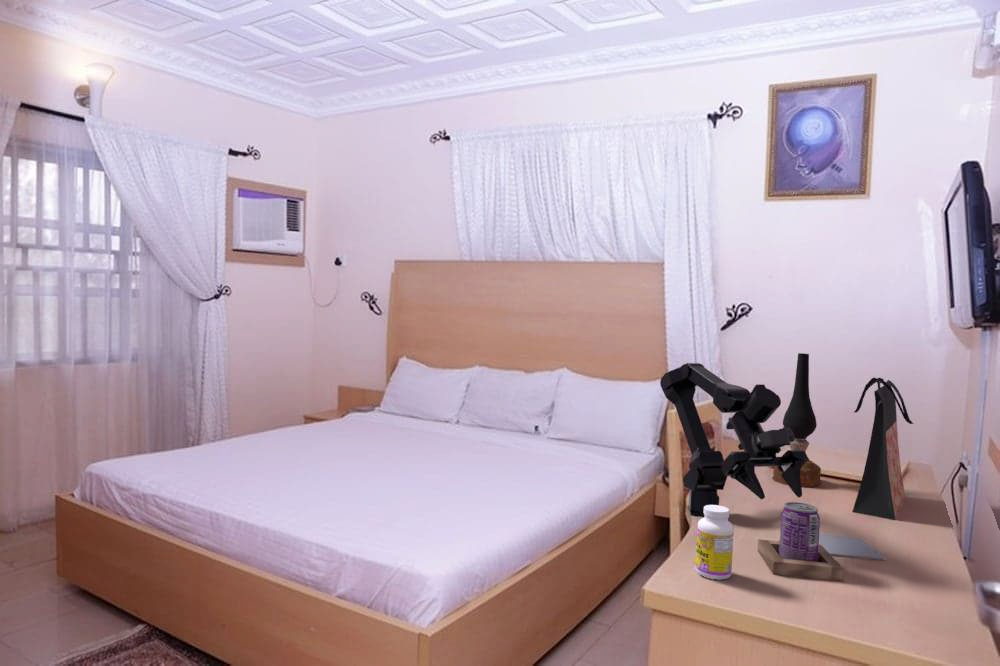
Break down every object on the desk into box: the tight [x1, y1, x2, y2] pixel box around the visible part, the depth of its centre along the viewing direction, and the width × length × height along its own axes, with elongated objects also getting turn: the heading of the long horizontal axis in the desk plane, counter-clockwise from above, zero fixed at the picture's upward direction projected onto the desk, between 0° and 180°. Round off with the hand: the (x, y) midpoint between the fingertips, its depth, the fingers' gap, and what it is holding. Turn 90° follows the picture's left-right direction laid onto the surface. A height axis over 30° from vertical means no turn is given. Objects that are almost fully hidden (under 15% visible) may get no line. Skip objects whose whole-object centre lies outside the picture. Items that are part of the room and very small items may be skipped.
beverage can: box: [779, 501, 821, 562], centre depth 133 cm, size 7×7×12 cm
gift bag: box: [852, 377, 914, 521], centre depth 177 cm, size 29×14×35 cm, turn 144°
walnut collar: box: [757, 538, 844, 582], centre depth 133 cm, size 13×13×2 cm
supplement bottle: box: [694, 504, 735, 581], centre depth 126 cm, size 7×7×13 cm
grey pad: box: [818, 533, 886, 561], centre depth 145 cm, size 13×13×1 cm
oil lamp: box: [771, 352, 822, 489], centre depth 204 cm, size 14×15×40 cm
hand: (782, 497), depth 138 cm, fingers open, 9 cm apart
